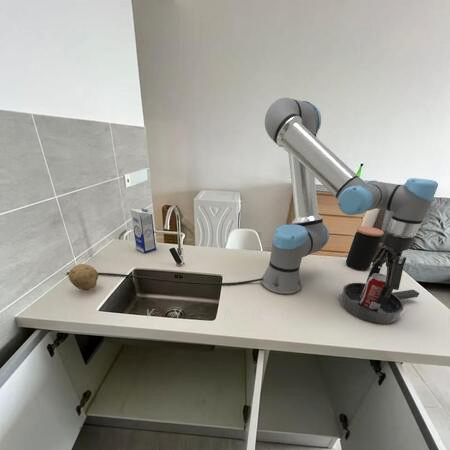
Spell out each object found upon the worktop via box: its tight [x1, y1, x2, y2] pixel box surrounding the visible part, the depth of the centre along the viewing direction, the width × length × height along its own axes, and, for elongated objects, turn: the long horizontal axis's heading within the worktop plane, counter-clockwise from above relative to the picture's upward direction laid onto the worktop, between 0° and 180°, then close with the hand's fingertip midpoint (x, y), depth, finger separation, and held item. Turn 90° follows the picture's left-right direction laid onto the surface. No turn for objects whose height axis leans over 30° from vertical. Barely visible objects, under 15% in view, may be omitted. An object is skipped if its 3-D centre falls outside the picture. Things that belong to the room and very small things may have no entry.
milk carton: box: [130, 208, 157, 254], centre depth 116 cm, size 7×7×20 cm
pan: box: [339, 282, 405, 325], centre depth 87 cm, size 19×19×4 cm
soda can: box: [359, 272, 386, 310], centre depth 85 cm, size 7×7×12 cm
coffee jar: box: [345, 225, 385, 272], centre depth 112 cm, size 11×11×18 cm
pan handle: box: [389, 289, 420, 301], centre depth 90 cm, size 12×3×2 cm, turn 106°
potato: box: [68, 263, 99, 292], centre depth 86 cm, size 9×9×10 cm
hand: (375, 292), depth 85 cm, fingers open, 13 cm apart
